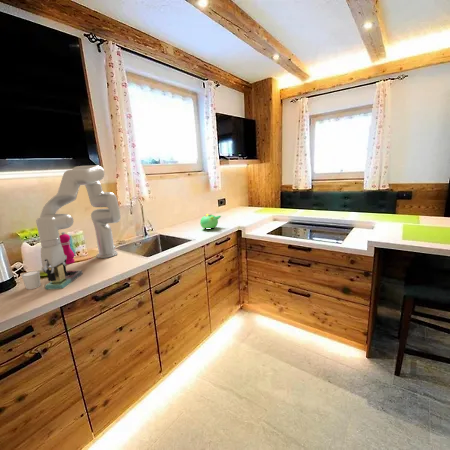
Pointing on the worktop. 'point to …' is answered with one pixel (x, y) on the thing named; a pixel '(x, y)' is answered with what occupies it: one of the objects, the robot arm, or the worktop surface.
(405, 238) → the worktop surface
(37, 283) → the white cylinder
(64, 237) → the pepper mill
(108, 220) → the robot arm
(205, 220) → the green teapot
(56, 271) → the nut block
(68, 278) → the teal and grey tray
